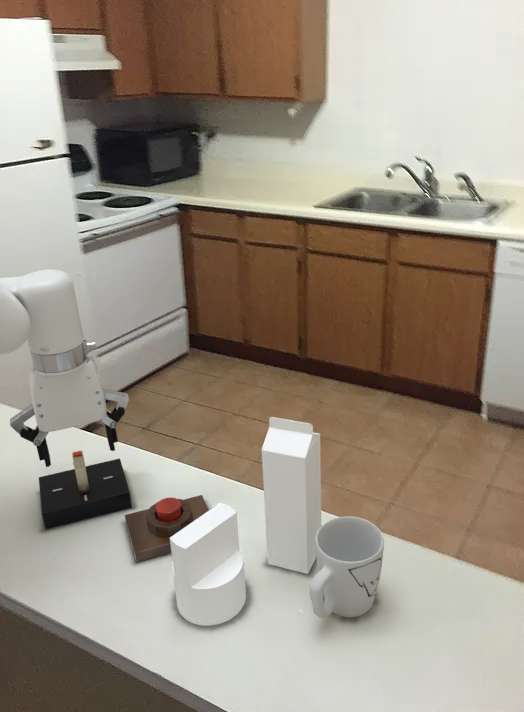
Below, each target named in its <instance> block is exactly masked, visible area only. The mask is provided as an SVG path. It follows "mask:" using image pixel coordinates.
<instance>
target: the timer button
mask: <svg viewBox="0 0 524 712" xmlns="http://www.w3.org/2000/svg"><path fill="white" fill-rule="evenodd" d="M178 499H179V498H176V497H165V498H161V499H160V500H158V501H157V502H158V503H157V502H156V503H157V504H156V503H155V504H156V513H157V518H158V520H160V521H161V522H171V521H174V520H177V519H178V518H180V516H181V514H182V511H181V503H180V501H179V500H178Z"/></svg>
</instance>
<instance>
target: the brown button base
mask: <svg viewBox="0 0 524 712" xmlns="http://www.w3.org/2000/svg"><path fill="white" fill-rule="evenodd" d="M177 499H178V500H179V501H180V503H181V511H182V514H181V516H180V518H178V519H177V520H174V521H171V522H161V521H160V520H158V518H157V513H156V504H157V503H158V502H159V501H157V502H156V503H154V504H153V505H151V506H150V507H149V508H147V509H142V510H138V511H135V512H131V513H128V514H124V520H125V525H126V528H127V533H128V536H129V540H130V544H131V548H132V552H133V555H134V556H133V557H134V559H135V562H136V563H140V562H143V561H147V560H150V559H154V558H158V557H161V556H164V555H168V554H172V552H171V544H170V537H172V536H173V535H174V534H176V533H177V532H179V531H180V530H182V529H183V528H185V527H186V526H187V525H189V524H190V523H192V522H193V521H195V520H196V519H198V518H199V517H200V516H202V515H203V514H205V513H206V512H208V511H209V510H210V509H209V507H208V505H207V503H206V501H205V498H204V496H203V494H200V495H196V496H191V497H188V498H184V499H182V498H177Z"/></svg>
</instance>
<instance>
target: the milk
mask: <svg viewBox="0 0 524 712" xmlns="http://www.w3.org/2000/svg"><path fill="white" fill-rule="evenodd" d="M268 425H269V426H268V430H267V433H266V436H265V438H264V442H263V444H262V446H261V465H262V482H263V500H264V521H265V534H266V535H265V537H266V552H267V553H266V554H267V564H268V565H269V566H274V567H278V568H282V569H286V570H289V571H294V572H298V573H302V574H305V575H309V573H310V571H311V569H312V567H313V565H314V563H315V560H317V557H316V547H315V538H316V534H317V531H318V530H319V528H320V527H321V526H322V480H321V479H322V470H321V469H322V468H321V465H322V464H321V463H322V462H321V461H322V460H321V433H319V432H314V426H313V424H312V423H310V422H305V421H298V420H292V419H286V418H281V417H275V416H270V417H269V419H268Z"/></svg>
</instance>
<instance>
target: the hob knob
mask: <svg viewBox="0 0 524 712" xmlns="http://www.w3.org/2000/svg"><path fill="white" fill-rule="evenodd" d="M71 456H72V457H71V458H72V462H73V467H74V469H75V474H76V479H77V484H78V489H79V494H83V493H87V492H90V488H89V483H88V478H87V472H86V467H85V466H86V463H85V458H84V457H85V456H84V453H83V451H82V450H78V451H73V452H72V453H71Z"/></svg>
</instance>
